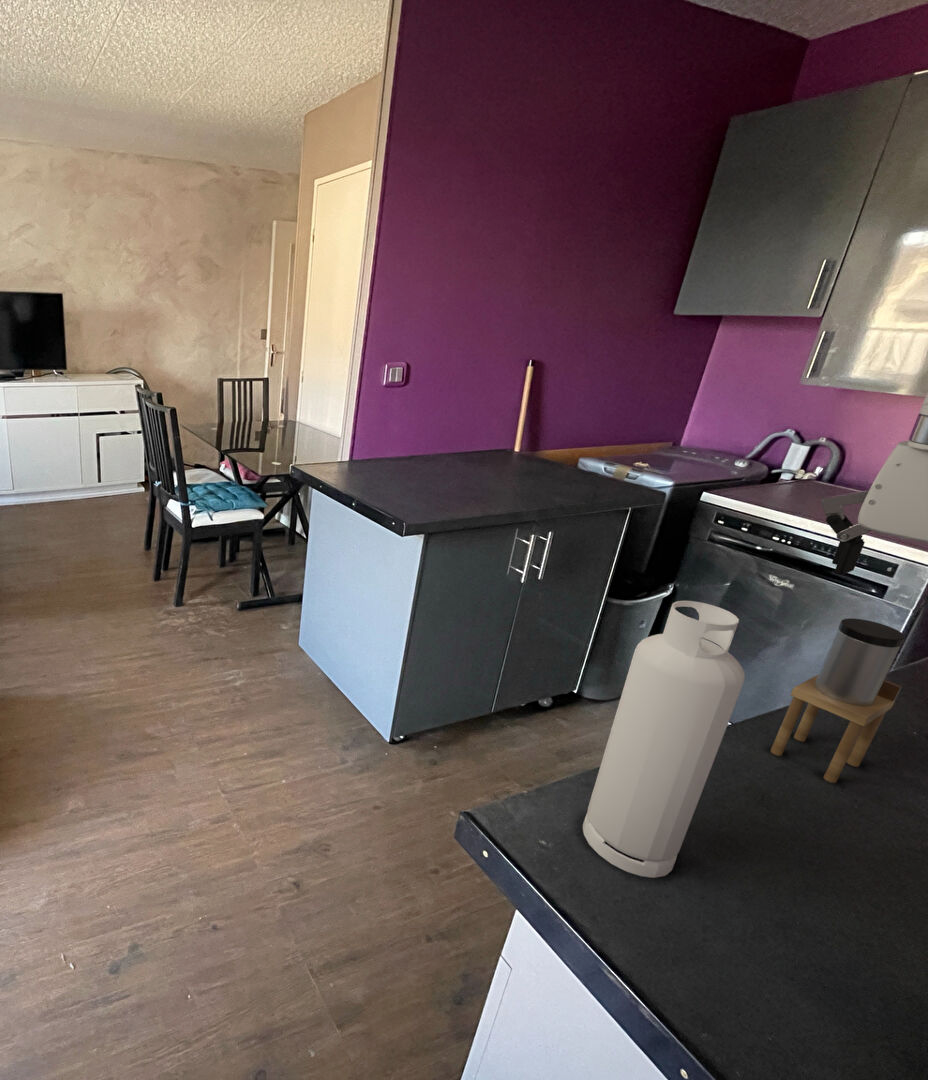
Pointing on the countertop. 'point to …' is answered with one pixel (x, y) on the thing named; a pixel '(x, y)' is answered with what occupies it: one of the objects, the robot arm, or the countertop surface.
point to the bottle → (664, 740)
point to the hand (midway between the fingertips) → (901, 587)
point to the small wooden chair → (859, 716)
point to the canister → (858, 661)
